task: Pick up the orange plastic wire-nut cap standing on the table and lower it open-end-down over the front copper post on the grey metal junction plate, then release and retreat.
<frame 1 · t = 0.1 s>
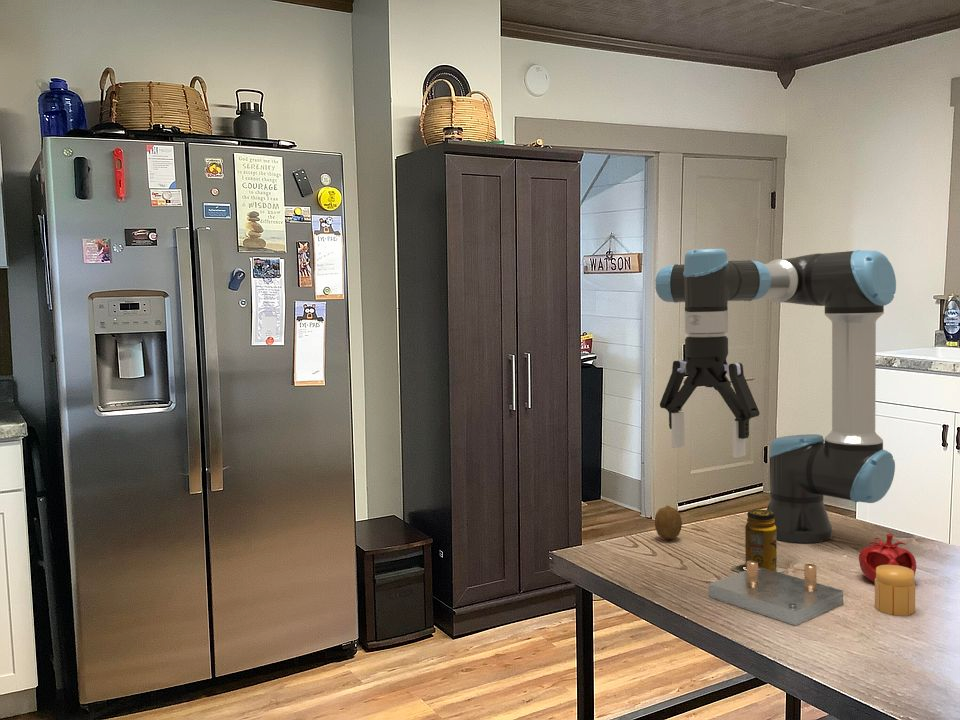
hand: (707, 451, 149), 28 cm above the table, fingers open, 13 cm apart
fruit: (668, 540, 190), on the table
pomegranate: (887, 581, 159), on the table
condiment: (757, 571, 168), on the table
junction plate: (774, 600, 151), on the table
wire nut: (894, 608, 145), on the table
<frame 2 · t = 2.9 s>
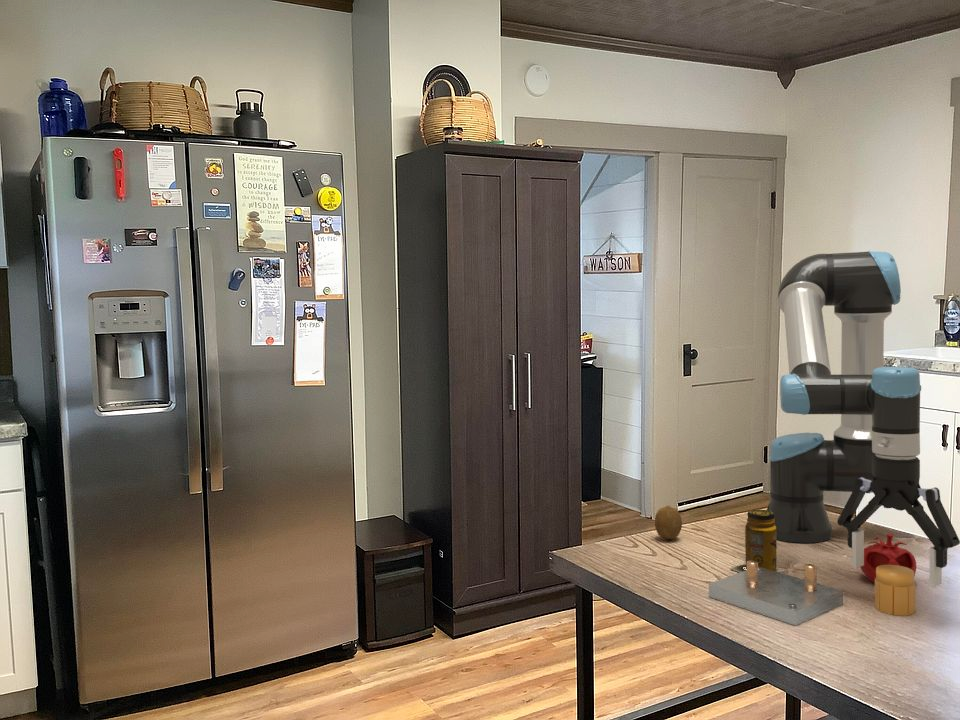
hand: (895, 575, 144), 6 cm above the table, fingers open, 13 cm apart
nothing on the table moved.
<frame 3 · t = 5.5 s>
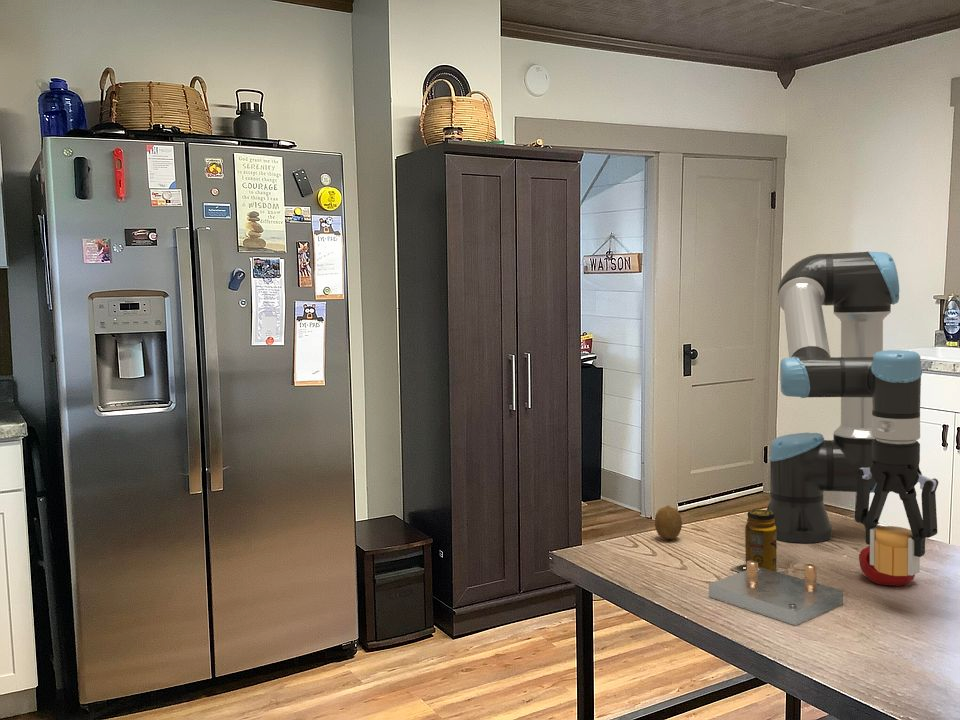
hand: (894, 567, 145), 7 cm above the table, fingers closed on wire nut, 6 cm apart
wire nut: (894, 569, 145), point 7 cm above the table, touching gripper
everything else where it was.
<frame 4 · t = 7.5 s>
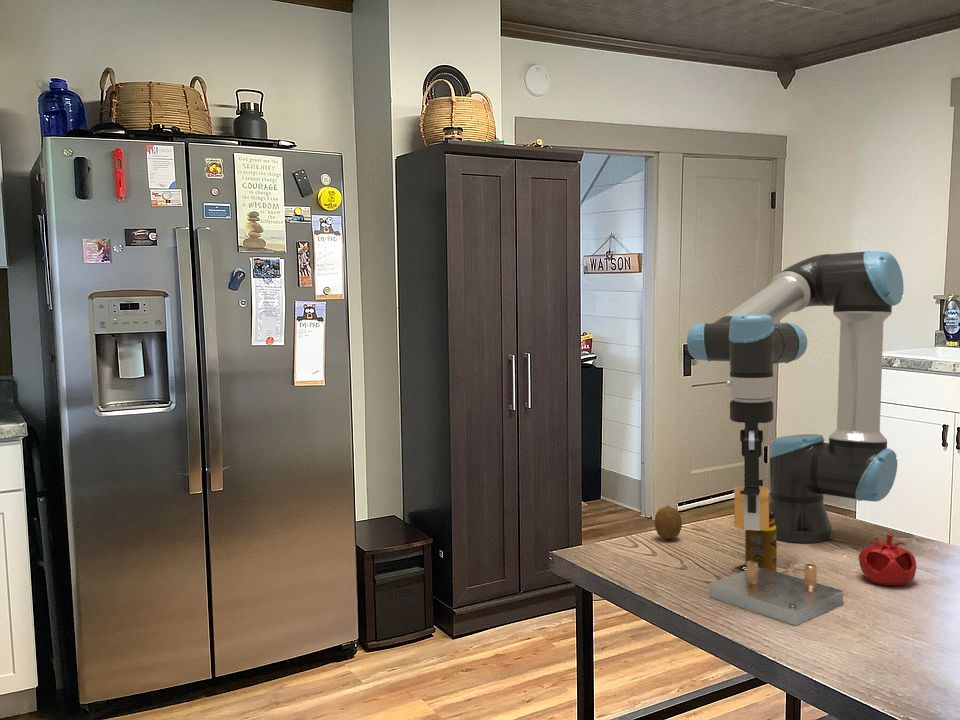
hand: (751, 524, 151), 14 cm above the table, fingers closed on wire nut, 6 cm apart
wire nut: (751, 525, 151), point 14 cm above the table, touching gripper
everything else where it was.
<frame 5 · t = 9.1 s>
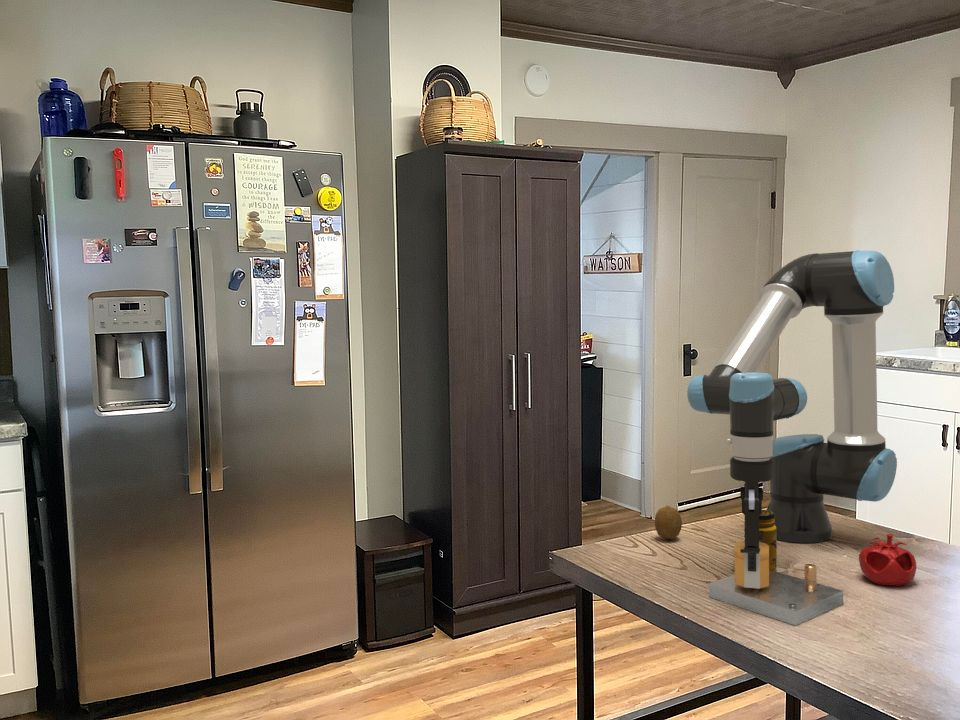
hand: (752, 580, 151), 3 cm above the table, fingers closed on wire nut, 6 cm apart
wire nut: (751, 582, 151), point 3 cm above the table, touching gripper
everything else where it was.
when the fingers open (3 cm above the table, at t = 9.9 s): wire nut stays where it is, resting on junction plate.
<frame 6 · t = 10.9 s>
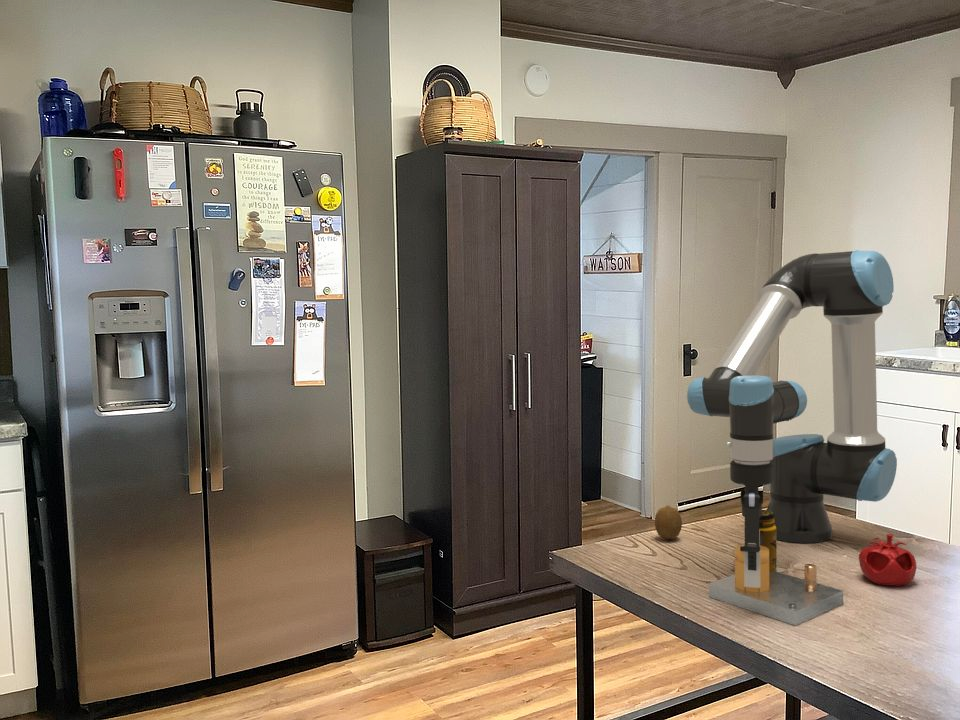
hand: (752, 574, 151), 5 cm above the table, fingers open, 13 cm apart
wire nut: (752, 585, 152), point 2 cm above the table, touching junction plate
everything else where it was.
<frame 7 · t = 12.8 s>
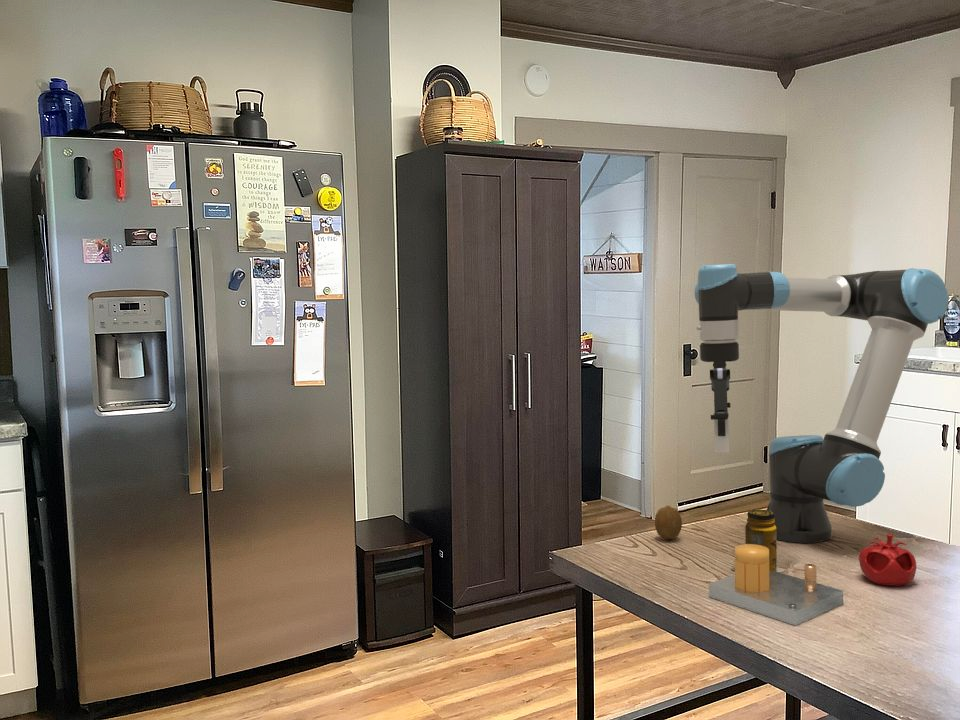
hand: (721, 445, 167), 26 cm above the table, fingers open, 13 cm apart
nothing on the table moved.
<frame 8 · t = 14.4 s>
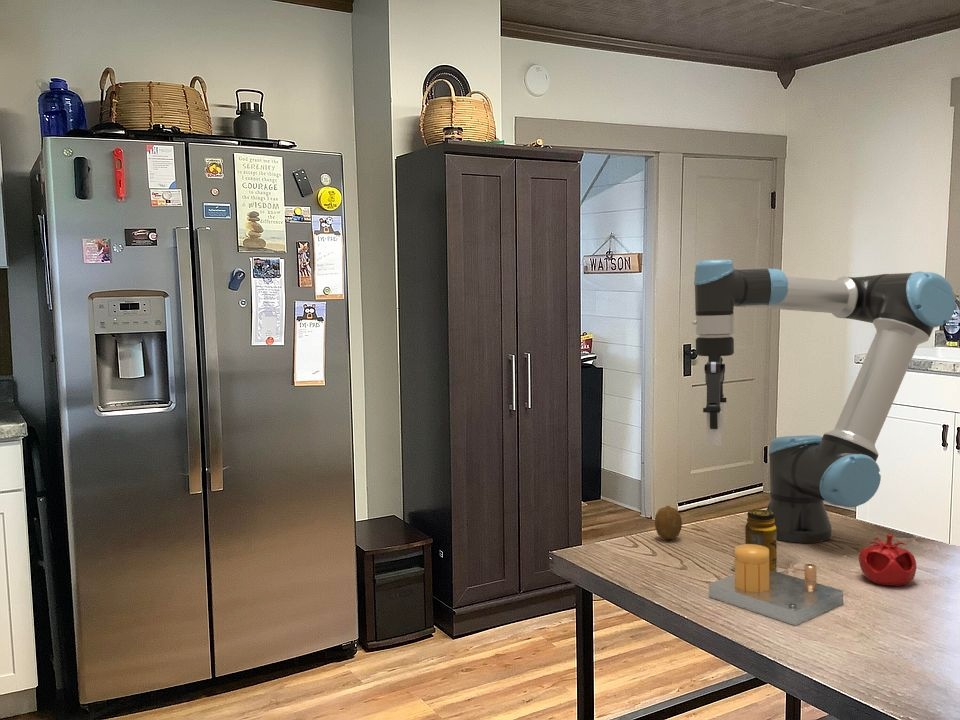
hand: (715, 439, 169), 27 cm above the table, fingers open, 13 cm apart
nothing on the table moved.
at the end: wire nut 0.1 cm from the target spot on the junction plate, point 2.5 cm above the junction plate's base; wire nut tilted 0°; the gripper is holding nothing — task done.
